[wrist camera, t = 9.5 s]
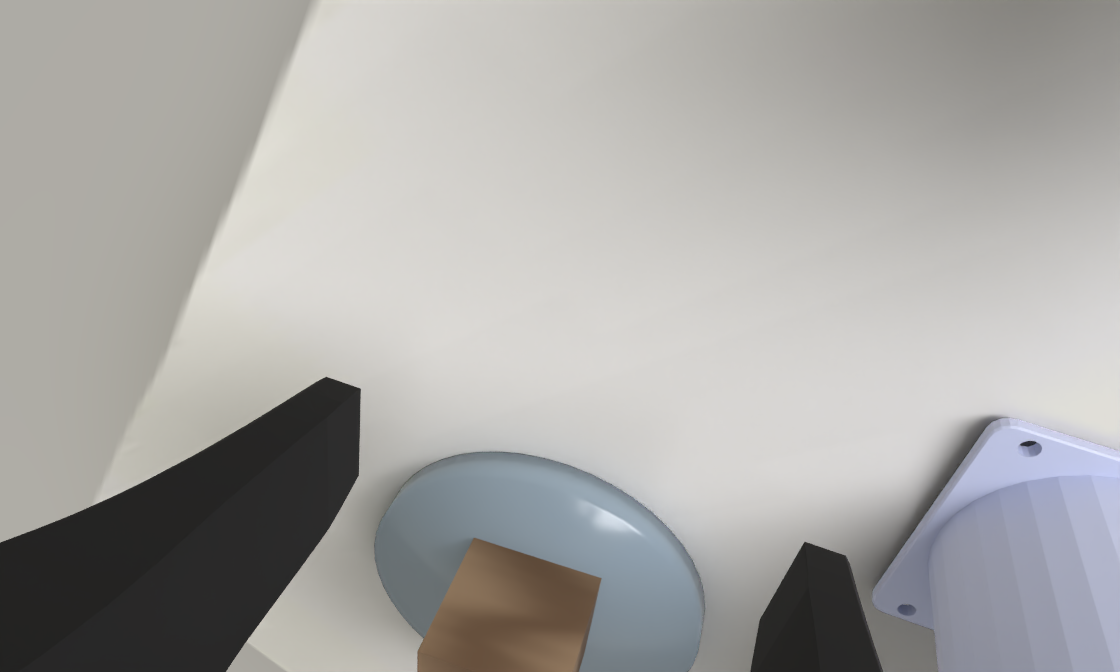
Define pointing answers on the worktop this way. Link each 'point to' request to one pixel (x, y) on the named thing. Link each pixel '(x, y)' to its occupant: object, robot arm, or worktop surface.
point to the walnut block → (510, 615)
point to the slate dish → (547, 551)
